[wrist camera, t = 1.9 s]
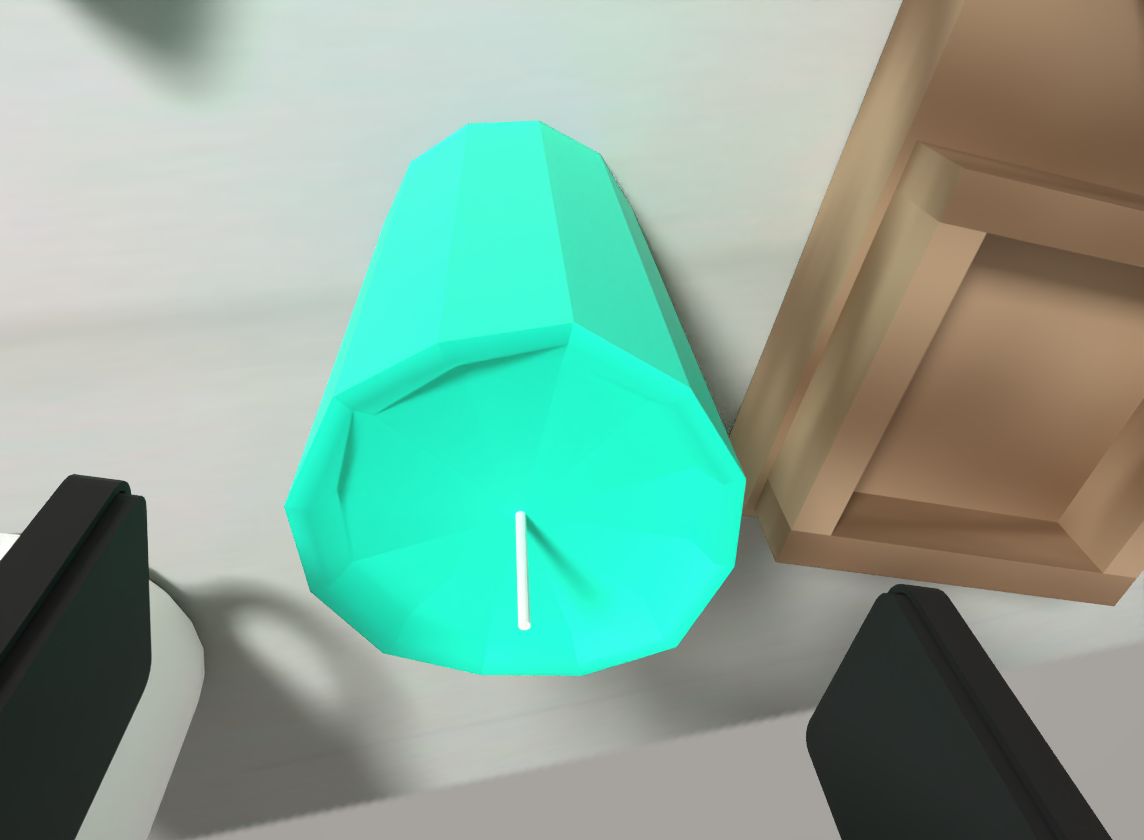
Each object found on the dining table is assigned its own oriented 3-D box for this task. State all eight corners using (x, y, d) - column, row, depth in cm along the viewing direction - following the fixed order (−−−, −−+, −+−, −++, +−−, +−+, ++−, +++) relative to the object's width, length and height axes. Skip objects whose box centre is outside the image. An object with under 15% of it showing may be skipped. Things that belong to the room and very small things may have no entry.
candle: (687, 239, 20) (883, 599, 10) (521, 399, 22) (539, 834, 12) (499, 55, 17) (498, 283, 7) (332, 256, 19) (147, 652, 9)
